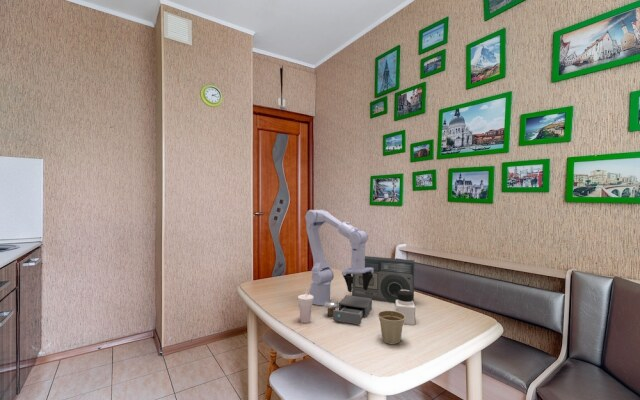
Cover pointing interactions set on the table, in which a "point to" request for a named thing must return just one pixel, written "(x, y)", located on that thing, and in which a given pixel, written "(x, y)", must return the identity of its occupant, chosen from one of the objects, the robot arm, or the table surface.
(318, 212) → the robot arm
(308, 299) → the smoothie
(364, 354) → the table surface
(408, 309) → the medicine bottle
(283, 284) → the table surface
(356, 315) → the tray
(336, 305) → the disc
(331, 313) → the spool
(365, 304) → the disc
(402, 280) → the cassette player
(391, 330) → the flower pot
